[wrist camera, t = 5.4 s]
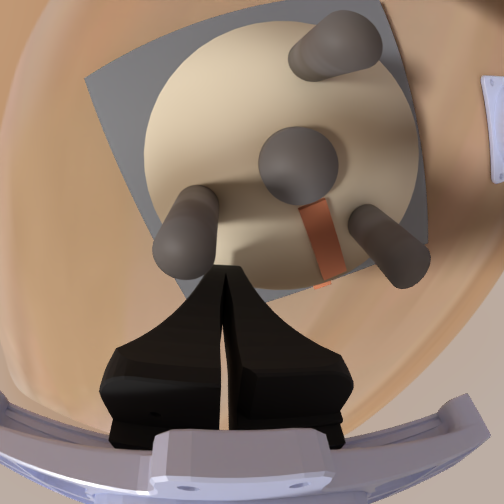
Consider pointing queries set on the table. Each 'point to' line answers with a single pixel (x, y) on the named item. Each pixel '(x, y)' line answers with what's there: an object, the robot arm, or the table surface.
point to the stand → (175, 53)
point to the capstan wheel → (285, 157)
